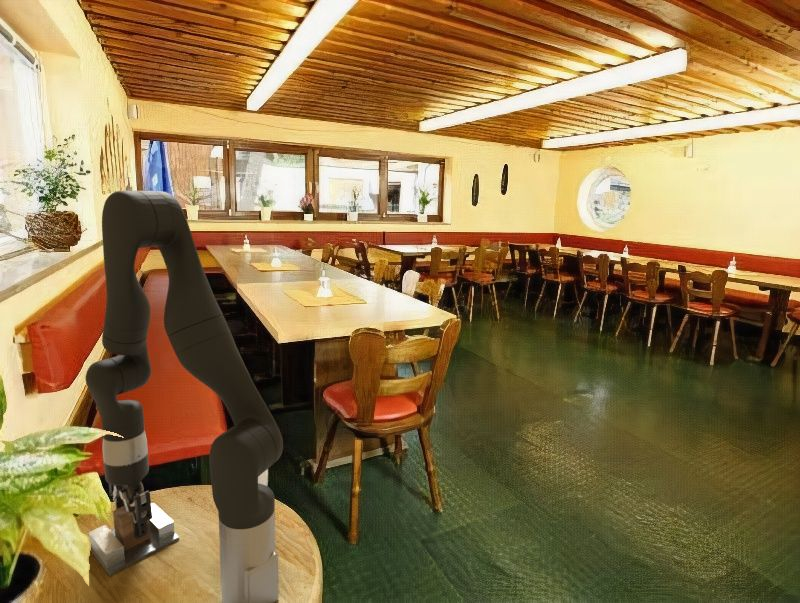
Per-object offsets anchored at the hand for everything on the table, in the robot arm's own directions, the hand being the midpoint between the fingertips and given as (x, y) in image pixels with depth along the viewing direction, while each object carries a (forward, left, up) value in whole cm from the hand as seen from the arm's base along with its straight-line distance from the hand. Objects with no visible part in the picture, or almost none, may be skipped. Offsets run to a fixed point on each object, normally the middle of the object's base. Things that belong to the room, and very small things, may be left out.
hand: (131, 526), depth 94 cm
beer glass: (-12, -20, -4) cm, 24 cm away
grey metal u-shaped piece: (0, 0, -4) cm, 4 cm away
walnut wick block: (0, 0, -3) cm, 3 cm away
